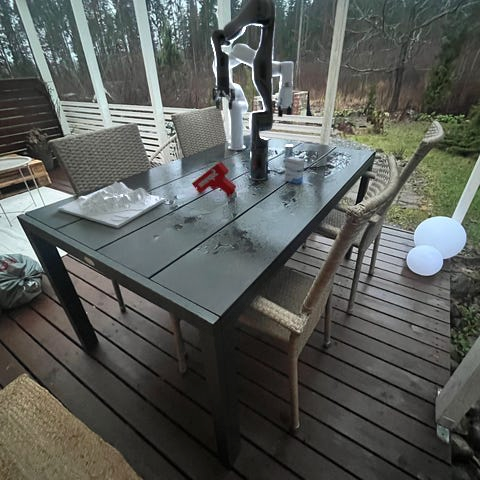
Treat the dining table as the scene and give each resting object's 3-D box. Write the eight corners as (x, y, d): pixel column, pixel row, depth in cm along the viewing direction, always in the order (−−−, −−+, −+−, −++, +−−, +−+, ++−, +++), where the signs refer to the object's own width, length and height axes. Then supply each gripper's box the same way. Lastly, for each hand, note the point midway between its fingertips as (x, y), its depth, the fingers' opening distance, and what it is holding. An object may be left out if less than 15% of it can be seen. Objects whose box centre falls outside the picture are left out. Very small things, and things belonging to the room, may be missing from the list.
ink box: (302, 181, 142) (305, 159, 136) (297, 184, 139) (300, 161, 133) (289, 177, 147) (291, 156, 141) (284, 180, 144) (285, 158, 138)
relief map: (117, 228, 103) (114, 216, 100) (59, 210, 116) (54, 199, 113) (165, 201, 123) (163, 190, 120) (110, 188, 136) (107, 178, 134)
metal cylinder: (293, 161, 173) (294, 145, 168) (287, 162, 171) (288, 146, 166) (288, 159, 176) (289, 144, 171) (282, 160, 174) (284, 145, 169)
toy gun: (240, 187, 127) (221, 160, 123) (237, 190, 124) (218, 163, 120) (214, 205, 137) (195, 180, 133) (210, 208, 134) (191, 183, 130)
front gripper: (237, 76, 145) (238, 109, 154) (216, 75, 152) (218, 107, 161) (229, 76, 140) (230, 110, 149) (208, 76, 147) (210, 109, 156)
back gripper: (289, 84, 174) (287, 113, 184) (272, 86, 164) (271, 117, 173) (299, 84, 170) (296, 114, 179) (283, 86, 159) (281, 118, 169)
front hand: (224, 109), depth 155 cm, fingers open, 8 cm apart
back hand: (284, 115), depth 176 cm, fingers open, 9 cm apart
